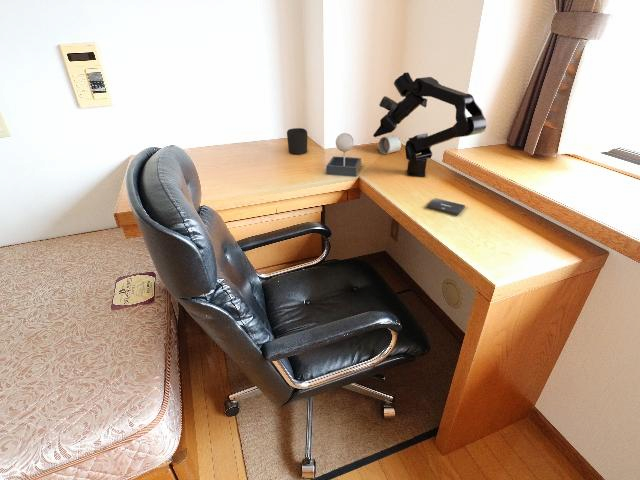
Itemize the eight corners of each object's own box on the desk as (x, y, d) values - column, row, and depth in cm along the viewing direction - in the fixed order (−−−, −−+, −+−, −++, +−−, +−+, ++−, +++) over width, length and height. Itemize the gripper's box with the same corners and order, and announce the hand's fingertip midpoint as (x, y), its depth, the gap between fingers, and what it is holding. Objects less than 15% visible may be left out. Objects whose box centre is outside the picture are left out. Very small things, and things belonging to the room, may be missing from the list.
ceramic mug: (401, 152, 162) (403, 136, 158) (388, 156, 159) (390, 138, 155) (386, 147, 170) (387, 131, 166) (373, 150, 166) (374, 134, 162)
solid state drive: (458, 215, 108) (458, 213, 108) (426, 207, 113) (427, 205, 113) (464, 207, 113) (465, 205, 113) (434, 199, 118) (435, 197, 118)
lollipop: (351, 166, 147) (352, 130, 140) (353, 172, 141) (355, 135, 134) (334, 167, 147) (335, 131, 139) (336, 173, 141) (336, 136, 133)
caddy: (360, 166, 148) (361, 158, 146) (356, 176, 138) (356, 167, 136) (333, 164, 151) (333, 156, 149) (326, 174, 141) (326, 165, 139)
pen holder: (311, 150, 167) (311, 129, 162) (300, 156, 160) (299, 134, 155) (295, 148, 171) (294, 127, 166) (284, 153, 165) (282, 131, 159)
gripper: (398, 85, 138) (369, 113, 148) (388, 93, 124) (357, 123, 133) (415, 107, 140) (386, 133, 149) (408, 117, 125) (376, 145, 134)
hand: (376, 133), depth 141 cm, fingers open, 9 cm apart
